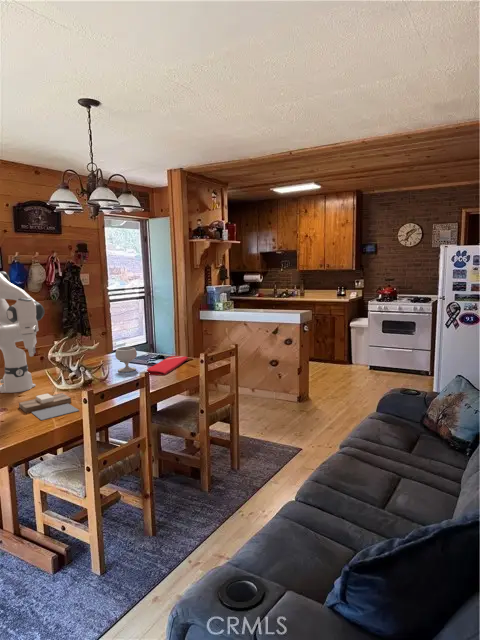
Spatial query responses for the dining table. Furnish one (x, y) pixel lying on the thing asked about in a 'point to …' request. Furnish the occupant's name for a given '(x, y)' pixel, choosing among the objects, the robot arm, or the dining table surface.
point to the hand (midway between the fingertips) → (32, 354)
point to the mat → (54, 411)
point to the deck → (36, 405)
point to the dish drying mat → (166, 365)
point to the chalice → (126, 357)
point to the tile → (44, 398)
